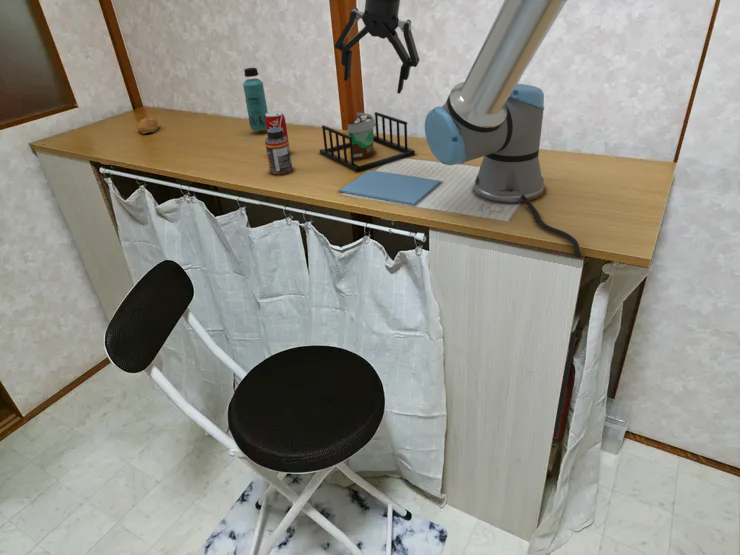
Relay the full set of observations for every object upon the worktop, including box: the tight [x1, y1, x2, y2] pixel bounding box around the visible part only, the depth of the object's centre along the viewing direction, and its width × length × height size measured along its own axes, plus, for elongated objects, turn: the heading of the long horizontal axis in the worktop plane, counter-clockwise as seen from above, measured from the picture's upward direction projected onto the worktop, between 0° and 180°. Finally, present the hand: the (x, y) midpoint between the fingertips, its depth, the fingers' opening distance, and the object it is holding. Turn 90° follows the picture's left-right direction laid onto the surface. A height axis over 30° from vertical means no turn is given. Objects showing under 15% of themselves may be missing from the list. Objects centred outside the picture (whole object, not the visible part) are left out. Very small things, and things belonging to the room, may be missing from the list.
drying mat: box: [339, 169, 441, 206], centre depth 127 cm, size 20×14×1 cm
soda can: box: [265, 110, 291, 151], centre depth 150 cm, size 6×6×12 cm
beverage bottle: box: [242, 67, 269, 132], centre depth 168 cm, size 6×7×20 cm
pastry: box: [137, 116, 159, 135], centre depth 184 cm, size 9×7×4 cm
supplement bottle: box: [264, 128, 293, 176], centre depth 138 cm, size 6×6×11 cm
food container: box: [347, 112, 376, 161], centre depth 146 cm, size 12×6×10 cm, turn 168°
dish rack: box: [319, 111, 416, 173], centre depth 146 cm, size 20×19×8 cm
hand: (373, 84), depth 130 cm, fingers open, 13 cm apart
